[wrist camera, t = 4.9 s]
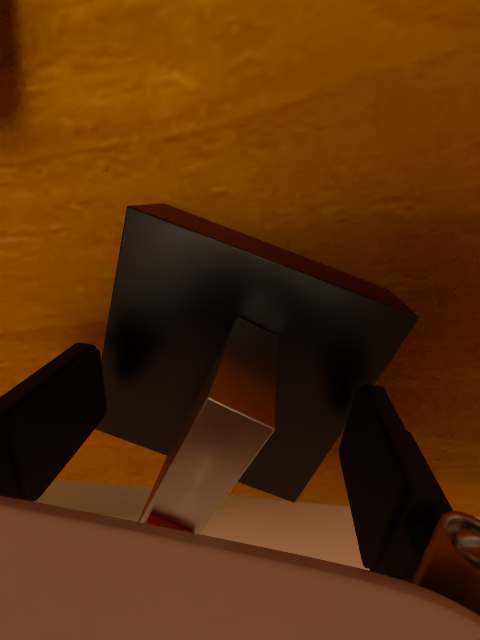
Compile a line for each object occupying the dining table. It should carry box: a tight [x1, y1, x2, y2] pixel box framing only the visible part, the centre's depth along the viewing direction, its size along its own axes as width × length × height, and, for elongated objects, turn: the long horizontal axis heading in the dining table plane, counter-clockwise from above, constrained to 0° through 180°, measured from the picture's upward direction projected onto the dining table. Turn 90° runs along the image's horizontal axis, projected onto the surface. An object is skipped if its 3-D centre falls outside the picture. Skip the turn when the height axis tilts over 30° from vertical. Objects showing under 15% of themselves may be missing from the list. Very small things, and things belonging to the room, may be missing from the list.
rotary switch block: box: [95, 204, 419, 502], centre depth 13 cm, size 10×10×3 cm
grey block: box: [138, 317, 278, 534], centre depth 9 cm, size 6×2×5 cm, turn 154°
